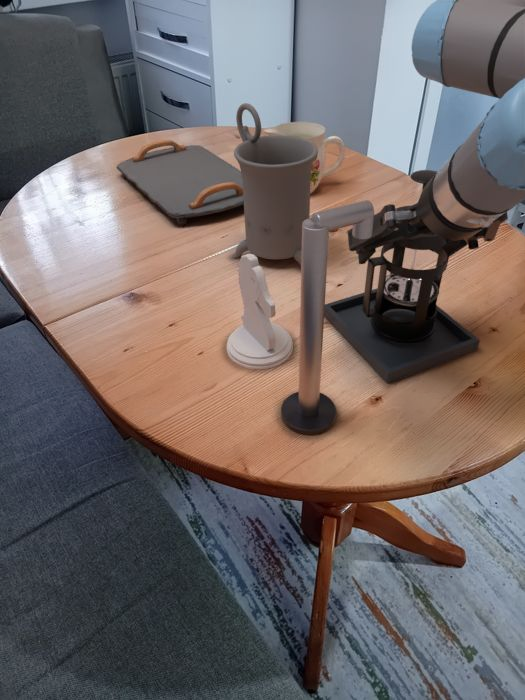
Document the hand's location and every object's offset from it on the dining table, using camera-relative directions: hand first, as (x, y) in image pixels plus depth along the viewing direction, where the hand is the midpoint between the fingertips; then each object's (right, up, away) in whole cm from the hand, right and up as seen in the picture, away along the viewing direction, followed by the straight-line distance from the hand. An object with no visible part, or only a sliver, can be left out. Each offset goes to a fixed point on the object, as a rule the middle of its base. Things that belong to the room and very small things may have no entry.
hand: (402, 251), depth 76 cm
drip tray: (+1, -11, +6) cm, 13 cm away
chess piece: (-20, -14, +4) cm, 25 cm away
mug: (-17, +4, +25) cm, 31 cm away
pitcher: (-10, +22, +46) cm, 52 cm away
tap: (-12, -22, -6) cm, 26 cm away
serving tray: (-37, +23, +48) cm, 65 cm away
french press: (+1, -10, +5) cm, 11 cm away
